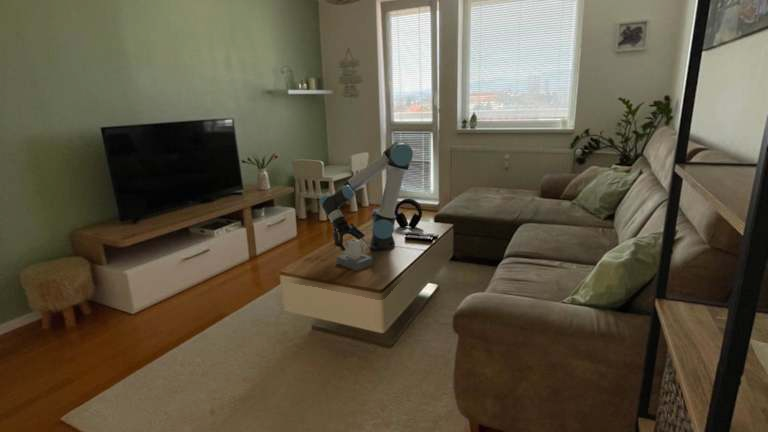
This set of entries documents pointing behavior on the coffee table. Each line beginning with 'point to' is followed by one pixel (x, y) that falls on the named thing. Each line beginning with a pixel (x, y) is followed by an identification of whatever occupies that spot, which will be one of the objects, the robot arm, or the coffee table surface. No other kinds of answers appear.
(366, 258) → the block
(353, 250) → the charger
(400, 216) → the headphones
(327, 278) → the coffee table surface
